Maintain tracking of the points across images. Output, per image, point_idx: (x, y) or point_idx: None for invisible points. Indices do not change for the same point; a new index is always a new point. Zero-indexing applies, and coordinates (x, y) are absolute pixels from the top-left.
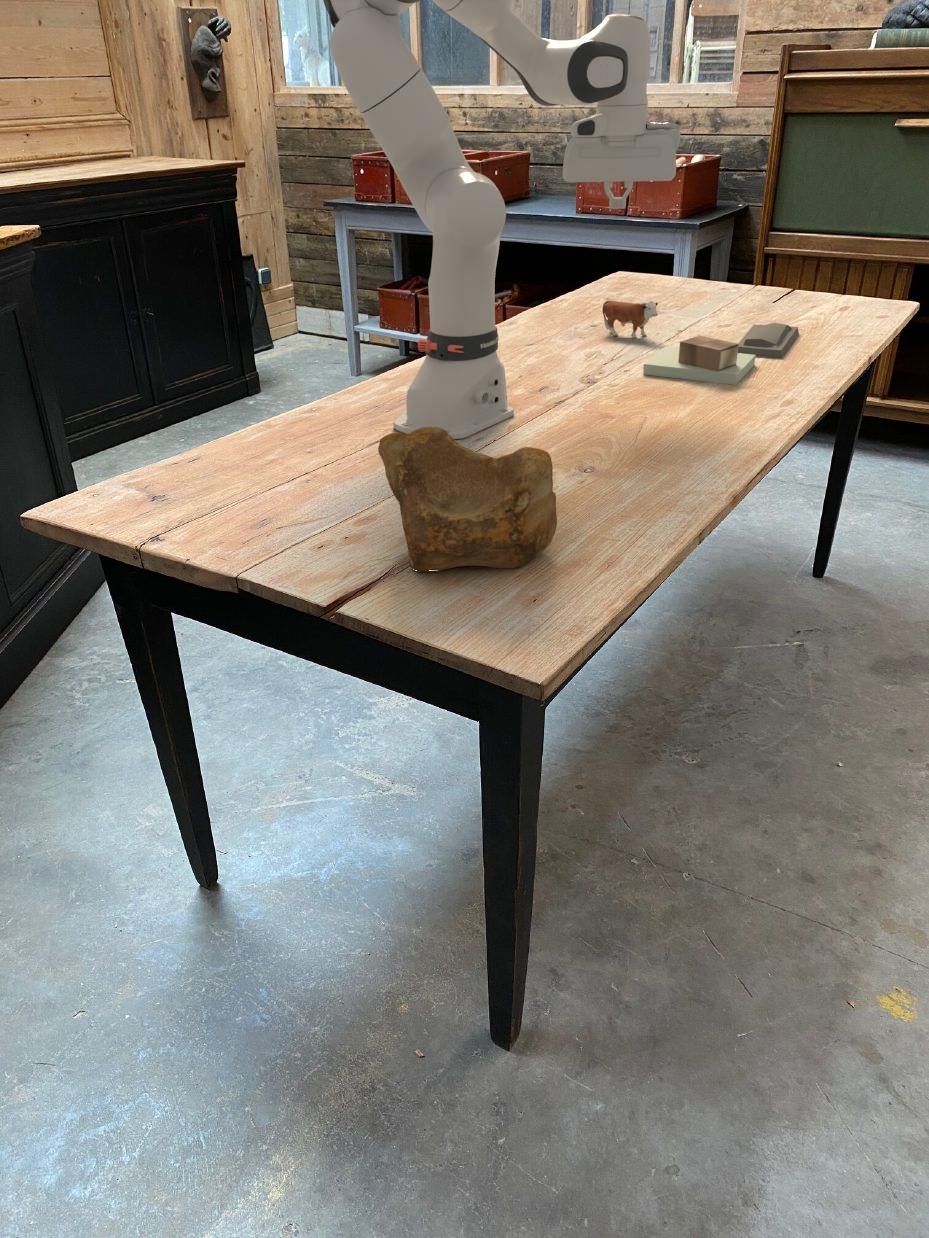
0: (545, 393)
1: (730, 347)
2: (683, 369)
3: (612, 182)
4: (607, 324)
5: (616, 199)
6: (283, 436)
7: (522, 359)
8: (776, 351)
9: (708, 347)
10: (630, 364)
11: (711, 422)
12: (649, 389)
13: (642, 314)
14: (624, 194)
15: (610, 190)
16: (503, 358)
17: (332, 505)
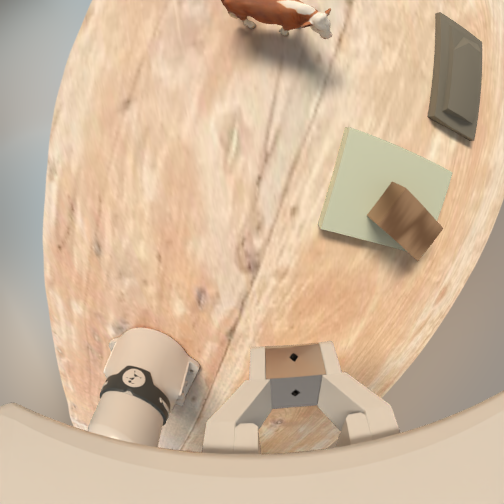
0: (208, 310)
1: (432, 241)
2: (370, 241)
3: (257, 448)
4: (235, 15)
5: (288, 403)
6: (81, 388)
7: (135, 180)
8: (469, 138)
9: (408, 251)
10: (296, 177)
11: (372, 350)
12: (325, 280)
13: (302, 23)
14: (331, 420)
15: (248, 414)
16: (111, 181)
17: (166, 444)
